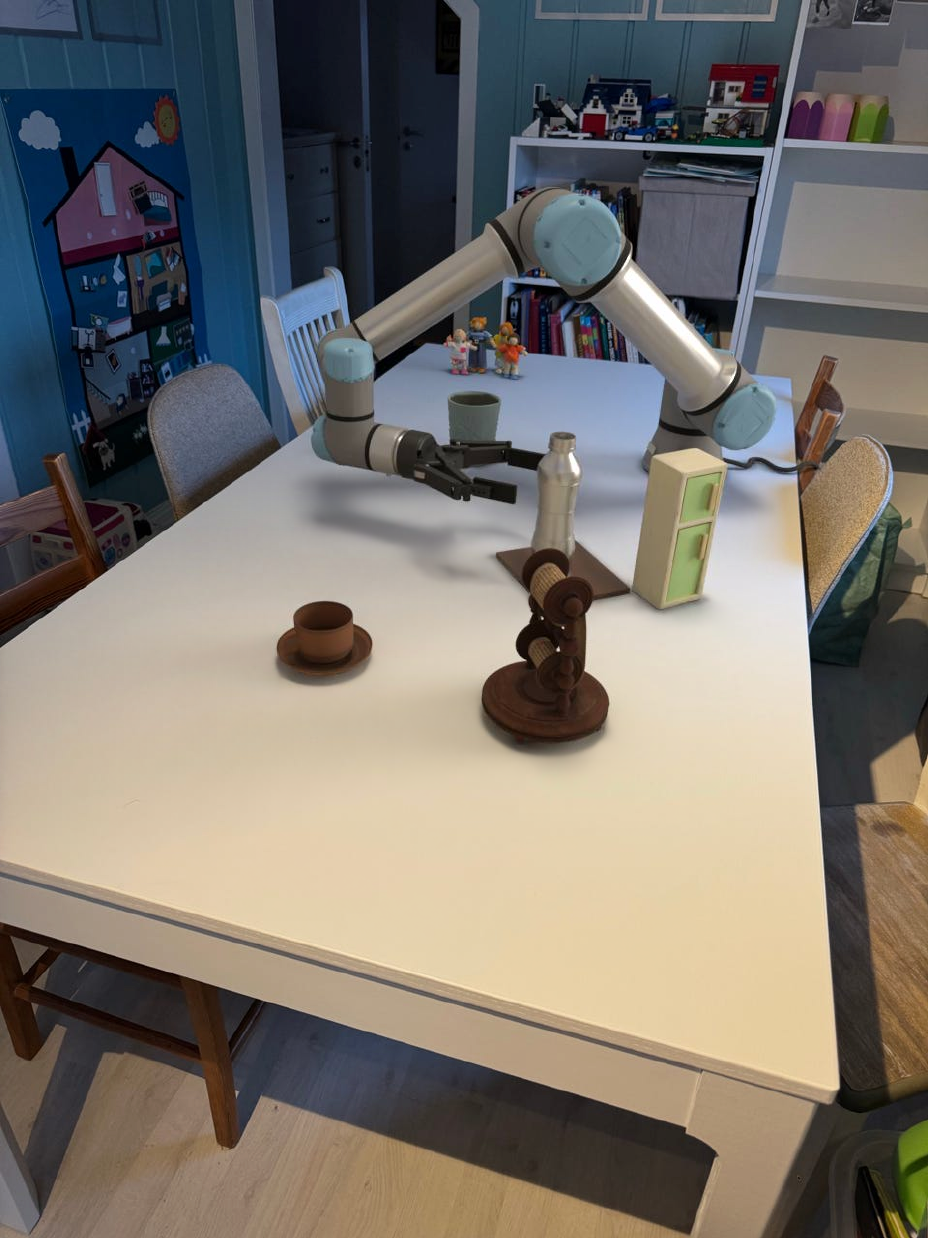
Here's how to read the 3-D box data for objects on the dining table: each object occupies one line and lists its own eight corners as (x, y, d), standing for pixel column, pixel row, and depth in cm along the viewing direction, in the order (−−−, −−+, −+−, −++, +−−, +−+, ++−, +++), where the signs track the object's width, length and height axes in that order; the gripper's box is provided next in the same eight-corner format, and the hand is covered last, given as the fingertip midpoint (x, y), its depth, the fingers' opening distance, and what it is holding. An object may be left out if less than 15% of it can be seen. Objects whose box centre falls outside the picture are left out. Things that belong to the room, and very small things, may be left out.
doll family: (442, 373, 224) (443, 319, 217) (448, 363, 232) (450, 311, 225) (525, 380, 221) (528, 326, 214) (529, 369, 229) (532, 317, 222)
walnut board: (574, 544, 143) (575, 539, 142) (630, 593, 129) (630, 588, 129) (495, 556, 138) (495, 552, 137) (544, 609, 124) (545, 604, 124)
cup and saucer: (332, 695, 105) (329, 652, 102) (257, 663, 111) (252, 621, 107) (391, 650, 114) (391, 609, 111) (319, 622, 119) (317, 582, 116)
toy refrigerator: (661, 613, 125) (685, 473, 114) (630, 590, 130) (650, 454, 119) (705, 601, 128) (733, 464, 117) (672, 579, 133) (696, 446, 122)
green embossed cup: (438, 461, 172) (439, 401, 165) (458, 445, 180) (459, 387, 173) (486, 470, 168) (490, 409, 162) (504, 453, 176) (508, 394, 170)
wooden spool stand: (627, 741, 100) (653, 587, 89) (504, 763, 96) (516, 604, 86) (577, 669, 112) (594, 526, 101) (465, 686, 108) (471, 538, 98)
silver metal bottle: (571, 573, 132) (585, 445, 122) (526, 567, 133) (536, 440, 123) (575, 554, 138) (589, 430, 127) (532, 549, 139) (542, 426, 128)
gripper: (439, 451, 149) (558, 474, 142) (365, 504, 130) (498, 534, 122) (440, 407, 145) (562, 429, 138) (364, 455, 126) (501, 483, 119)
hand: (532, 478), depth 130 cm, fingers open, 13 cm apart
